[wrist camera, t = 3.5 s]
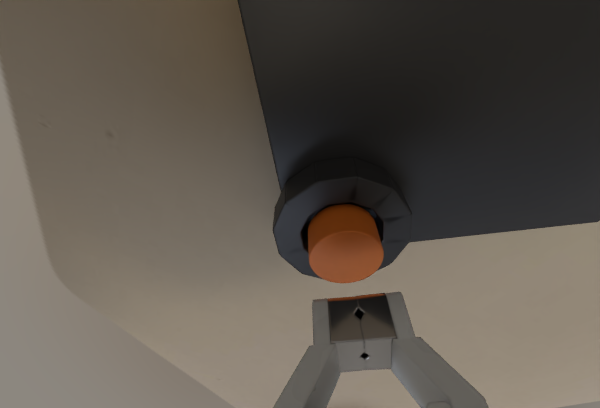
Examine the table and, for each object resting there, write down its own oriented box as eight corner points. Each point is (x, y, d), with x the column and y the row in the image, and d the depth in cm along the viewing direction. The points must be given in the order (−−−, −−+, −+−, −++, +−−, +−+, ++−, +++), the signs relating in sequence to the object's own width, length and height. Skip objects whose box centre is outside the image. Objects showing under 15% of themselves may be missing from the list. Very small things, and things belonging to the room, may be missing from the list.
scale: (289, 237, 19) (287, 285, 16) (229, -19, 11) (207, -12, 9) (570, 205, 17) (621, 252, 15) (709, -108, 10) (868, -134, 7)
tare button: (312, 257, 15) (313, 286, 14) (303, 207, 14) (303, 236, 12) (375, 250, 15) (384, 280, 14) (375, 199, 13) (384, 227, 12)
